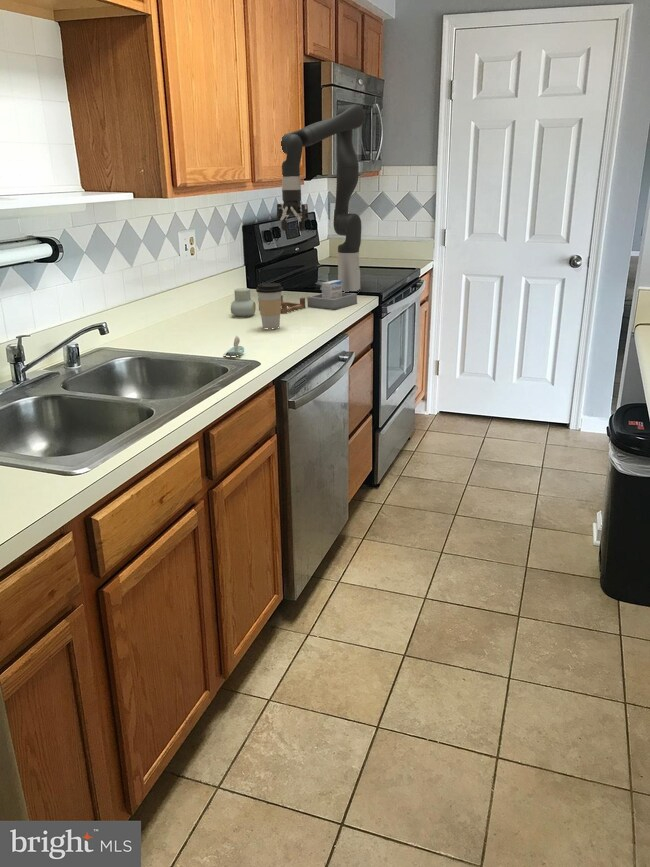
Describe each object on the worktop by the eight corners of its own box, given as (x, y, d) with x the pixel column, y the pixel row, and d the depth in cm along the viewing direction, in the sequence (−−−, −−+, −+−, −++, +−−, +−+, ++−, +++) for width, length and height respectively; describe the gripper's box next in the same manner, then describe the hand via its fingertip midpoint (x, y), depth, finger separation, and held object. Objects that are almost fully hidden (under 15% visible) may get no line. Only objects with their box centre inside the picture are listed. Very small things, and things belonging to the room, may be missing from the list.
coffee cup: (252, 327, 251) (250, 284, 246) (274, 323, 257) (272, 281, 251) (268, 332, 244) (266, 287, 239) (290, 327, 250) (288, 284, 245)
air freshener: (252, 318, 266) (250, 291, 263) (230, 318, 267) (228, 291, 263) (256, 312, 276) (255, 286, 273) (235, 312, 277) (234, 286, 273)
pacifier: (220, 359, 213) (240, 359, 212) (218, 339, 210) (238, 338, 210) (226, 353, 219) (246, 353, 219) (224, 333, 217) (244, 332, 216)
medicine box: (330, 305, 283) (330, 283, 280) (321, 304, 285) (321, 282, 282) (342, 302, 289) (342, 280, 285) (333, 301, 291) (333, 279, 288)
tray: (330, 300, 297) (330, 290, 295) (357, 303, 289) (356, 293, 288) (307, 307, 285) (307, 297, 283) (334, 310, 277) (333, 300, 276)
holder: (280, 304, 290) (279, 295, 289) (305, 308, 283) (305, 297, 281) (259, 310, 280) (258, 300, 279) (284, 313, 273) (284, 303, 272)
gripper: (311, 188, 284) (312, 230, 289) (283, 188, 291) (284, 229, 297) (300, 189, 278) (301, 232, 284) (271, 188, 286) (273, 230, 291)
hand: (292, 230), depth 290 cm, fingers open, 8 cm apart
